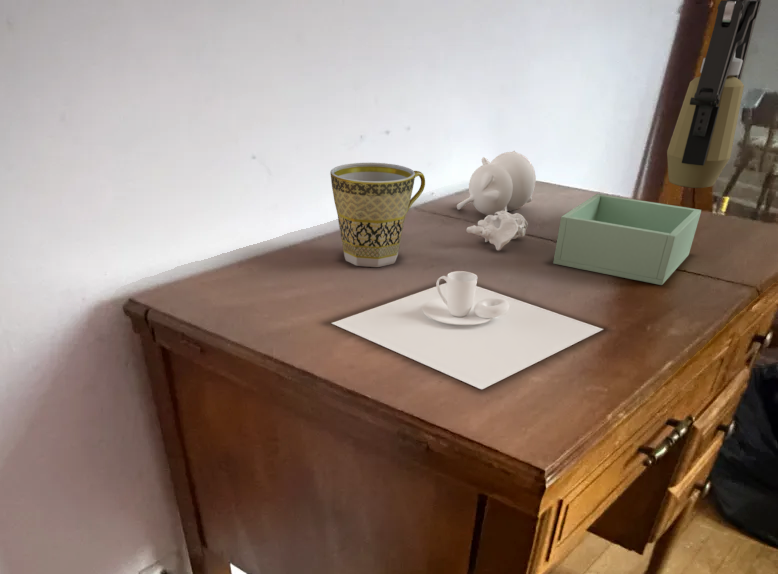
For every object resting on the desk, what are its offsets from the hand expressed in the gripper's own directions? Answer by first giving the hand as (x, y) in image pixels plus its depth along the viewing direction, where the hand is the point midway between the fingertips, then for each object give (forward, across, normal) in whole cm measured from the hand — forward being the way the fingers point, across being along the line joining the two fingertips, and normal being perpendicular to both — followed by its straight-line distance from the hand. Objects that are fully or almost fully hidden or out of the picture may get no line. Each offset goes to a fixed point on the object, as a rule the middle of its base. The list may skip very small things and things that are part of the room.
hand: (700, 157), depth 96 cm
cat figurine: (+9, +6, -26) cm, 29 cm away
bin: (+9, +17, -3) cm, 20 cm away
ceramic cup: (+9, +34, -29) cm, 46 cm away
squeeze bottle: (+3, 0, 0) cm, 3 cm away
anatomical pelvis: (+9, +20, -19) cm, 29 cm away
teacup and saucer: (+10, +48, -10) cm, 50 cm away
